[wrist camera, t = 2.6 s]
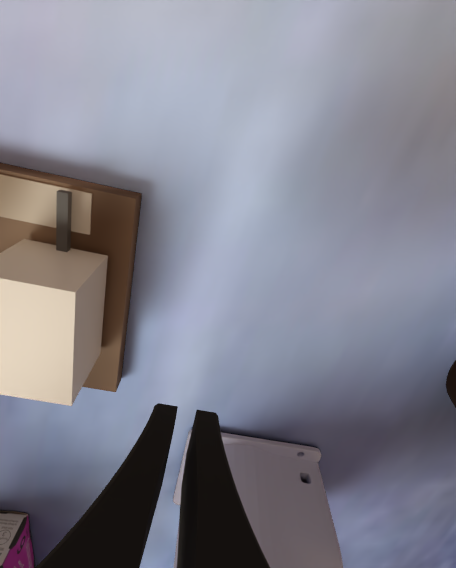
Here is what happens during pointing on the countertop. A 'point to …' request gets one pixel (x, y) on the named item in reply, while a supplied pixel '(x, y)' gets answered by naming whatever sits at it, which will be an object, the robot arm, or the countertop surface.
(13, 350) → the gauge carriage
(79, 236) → the frame
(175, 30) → the countertop surface
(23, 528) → the candy bar box
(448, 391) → the coffee mug
